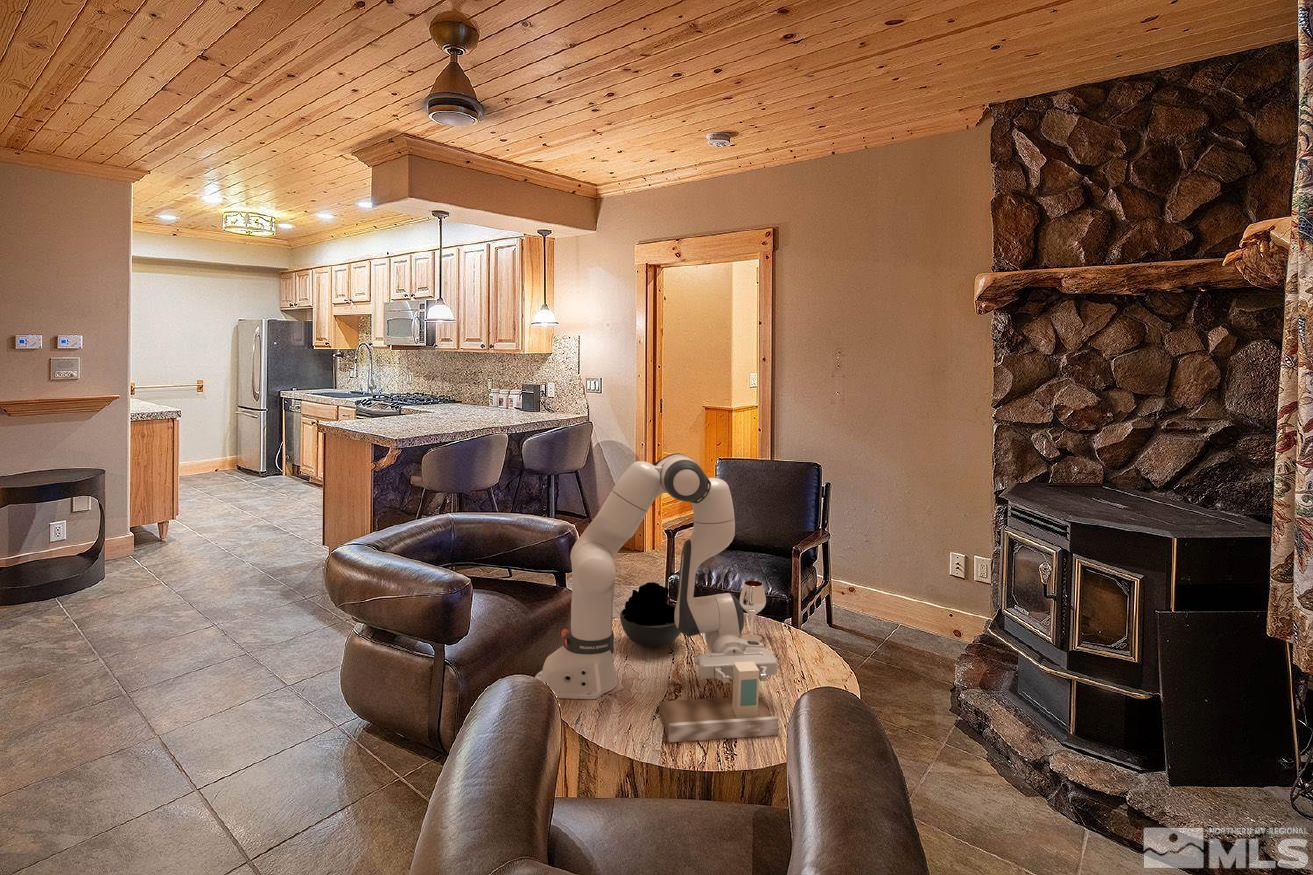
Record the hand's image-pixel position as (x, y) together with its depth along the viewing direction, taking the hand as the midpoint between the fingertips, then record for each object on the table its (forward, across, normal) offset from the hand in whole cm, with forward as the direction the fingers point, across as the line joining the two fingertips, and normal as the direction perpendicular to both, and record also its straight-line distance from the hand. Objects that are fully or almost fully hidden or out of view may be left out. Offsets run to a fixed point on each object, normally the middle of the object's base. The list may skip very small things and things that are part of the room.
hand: (745, 679), depth 170 cm
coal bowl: (-45, -16, +11) cm, 49 cm away
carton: (+1, 0, +8) cm, 8 cm away
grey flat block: (0, -7, +10) cm, 12 cm away
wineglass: (-48, +16, +11) cm, 51 cm away
